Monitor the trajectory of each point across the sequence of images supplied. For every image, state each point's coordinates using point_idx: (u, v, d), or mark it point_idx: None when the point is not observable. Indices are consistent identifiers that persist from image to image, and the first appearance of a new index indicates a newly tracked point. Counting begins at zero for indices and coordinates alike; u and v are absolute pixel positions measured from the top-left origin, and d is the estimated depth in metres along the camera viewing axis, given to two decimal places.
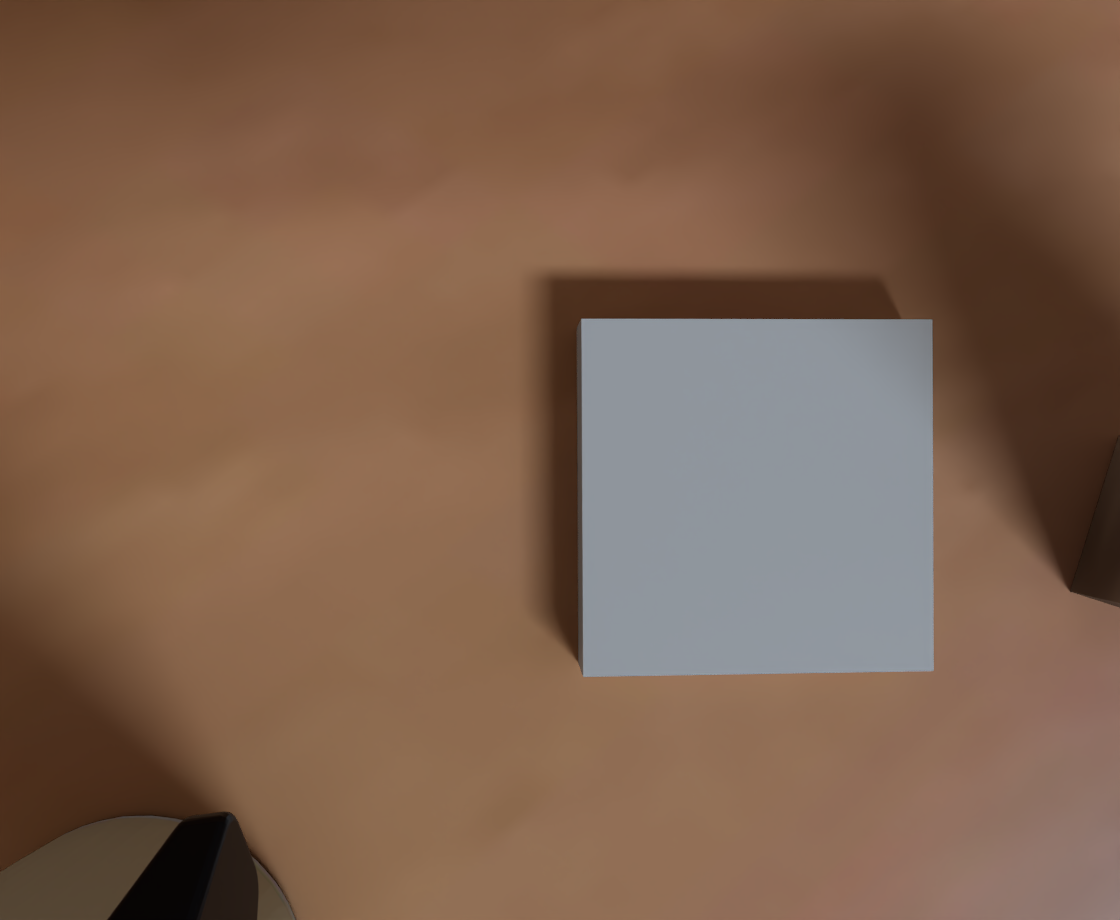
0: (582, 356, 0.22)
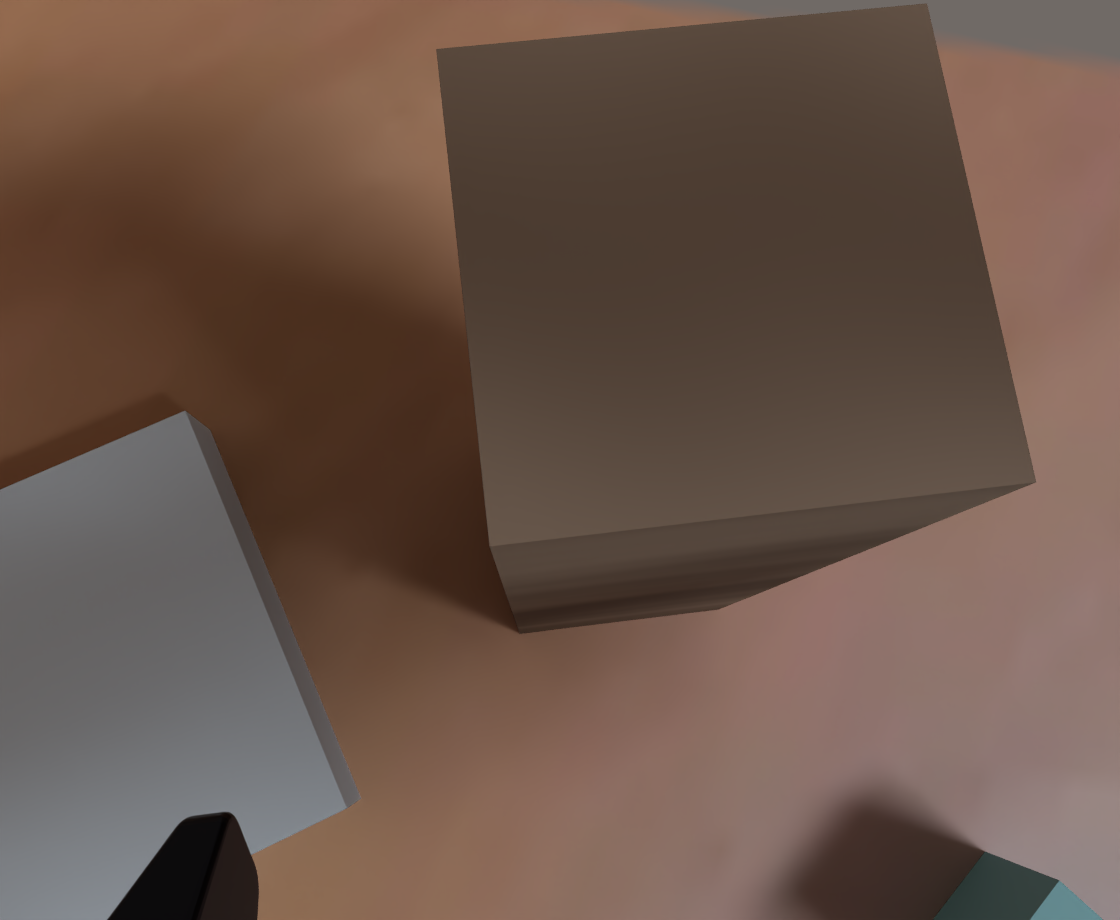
0: None
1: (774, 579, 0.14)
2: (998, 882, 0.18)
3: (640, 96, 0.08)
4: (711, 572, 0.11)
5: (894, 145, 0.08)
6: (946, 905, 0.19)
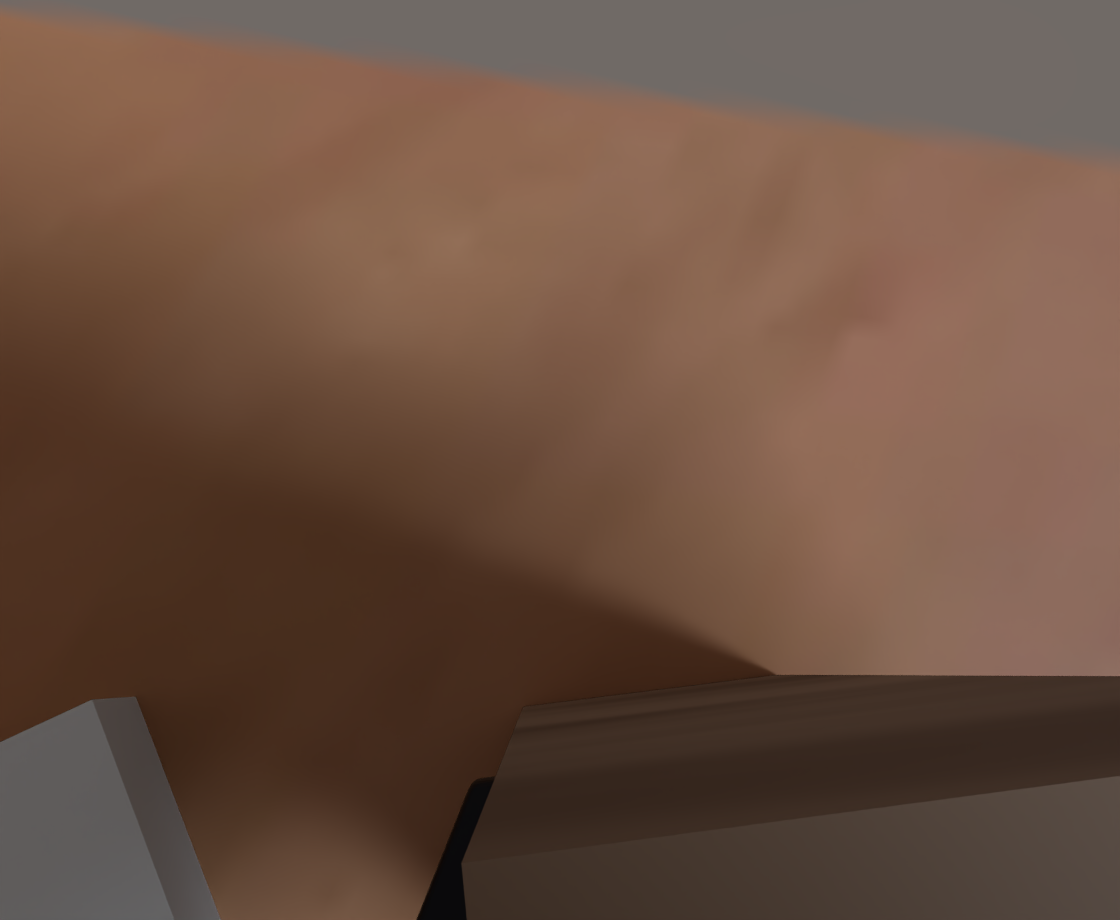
0: None
1: None
2: None
3: None
4: None
5: None
6: None
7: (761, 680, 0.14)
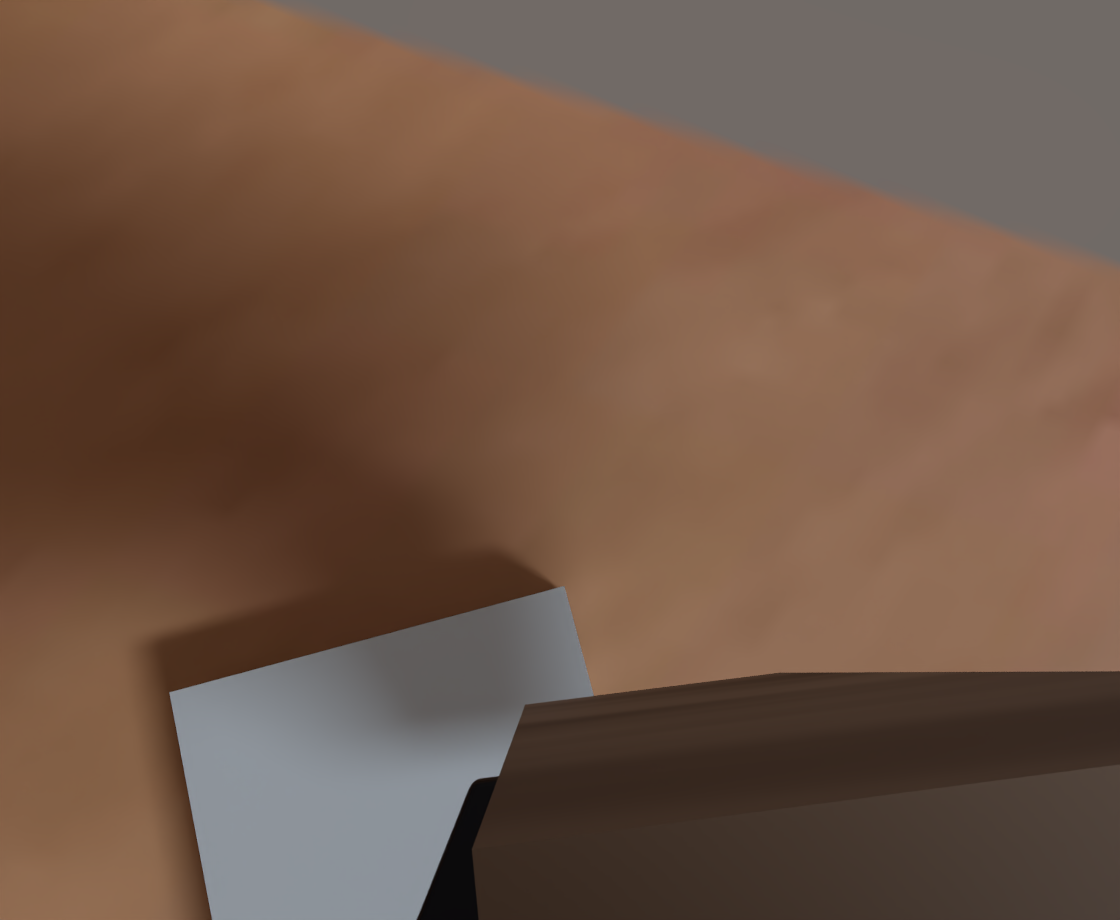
0: (178, 735, 0.19)
1: None
2: None
3: None
4: None
5: None
6: None
7: (763, 678, 0.14)
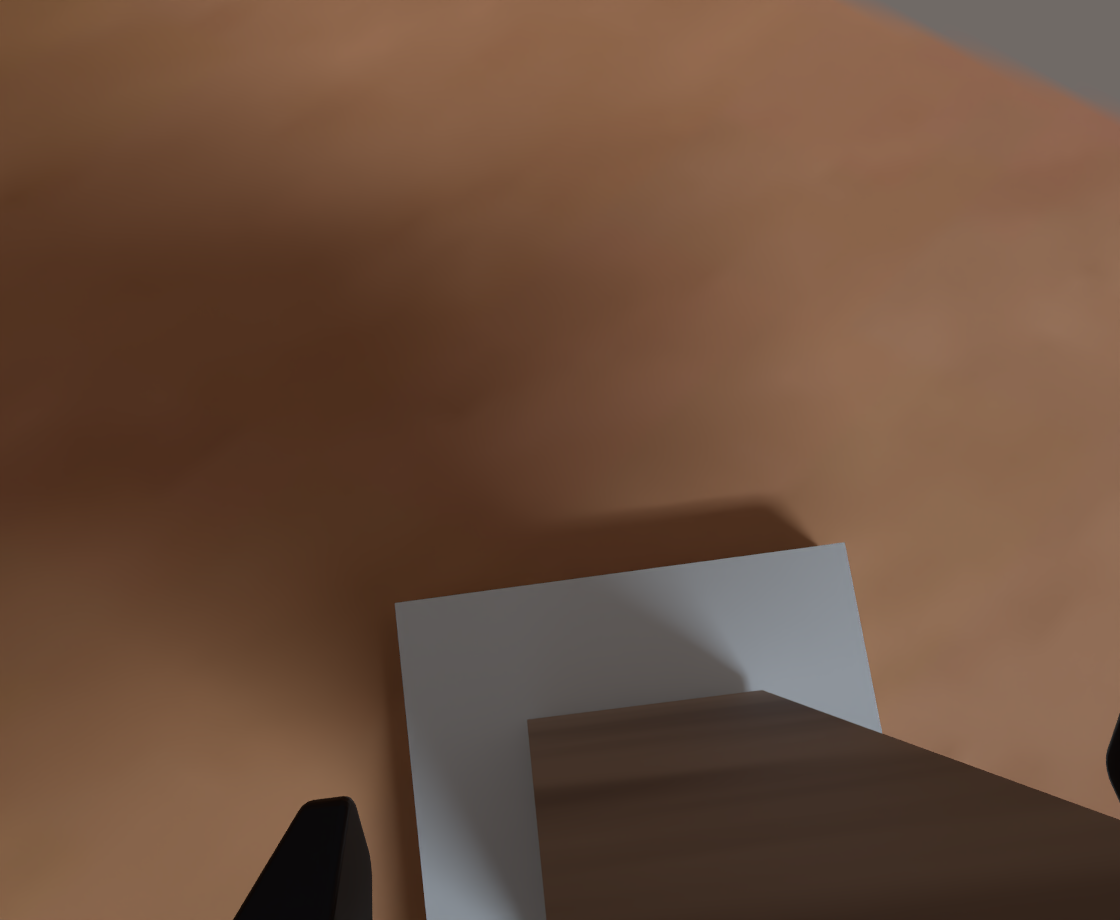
0: (401, 651, 0.17)
1: None
2: None
3: None
4: None
5: None
6: None
7: (748, 704, 0.15)
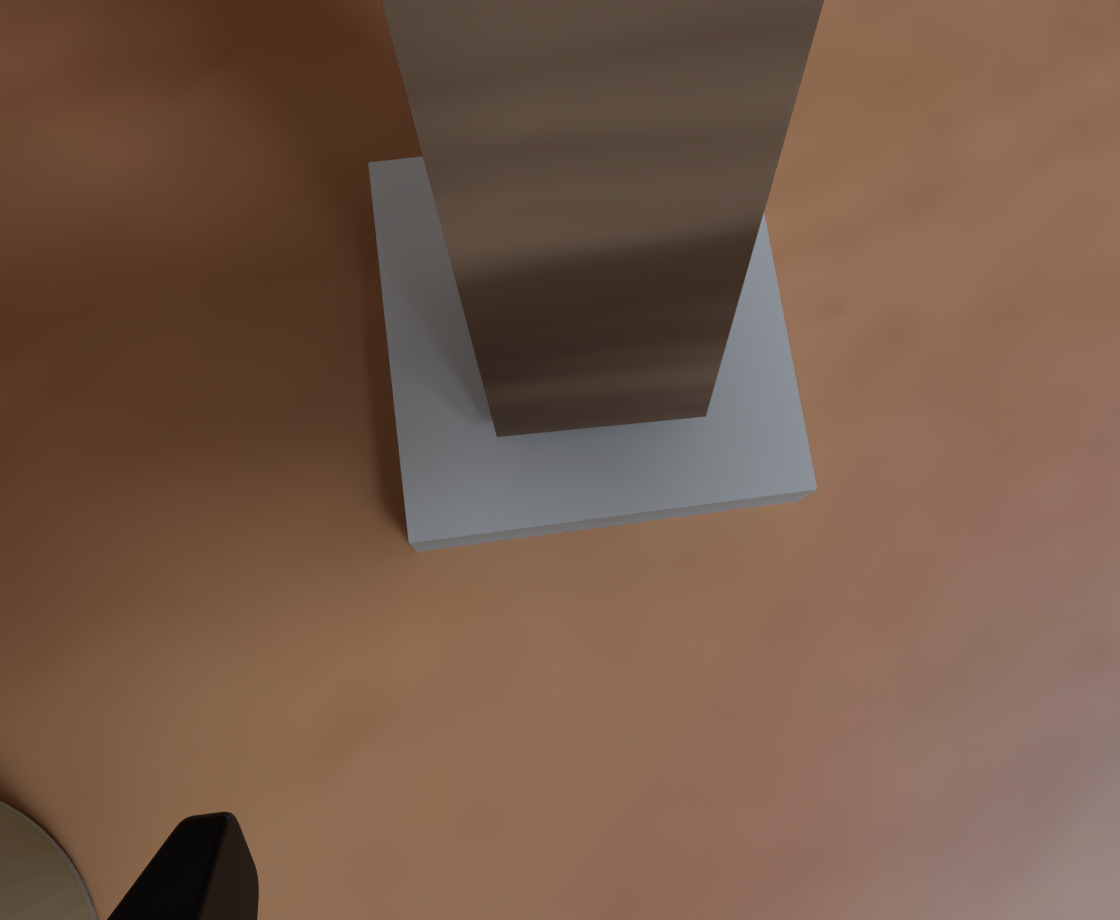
0: (373, 200, 0.21)
1: (728, 237, 0.13)
2: None
3: None
4: (637, 134, 0.11)
5: None
6: None
7: None
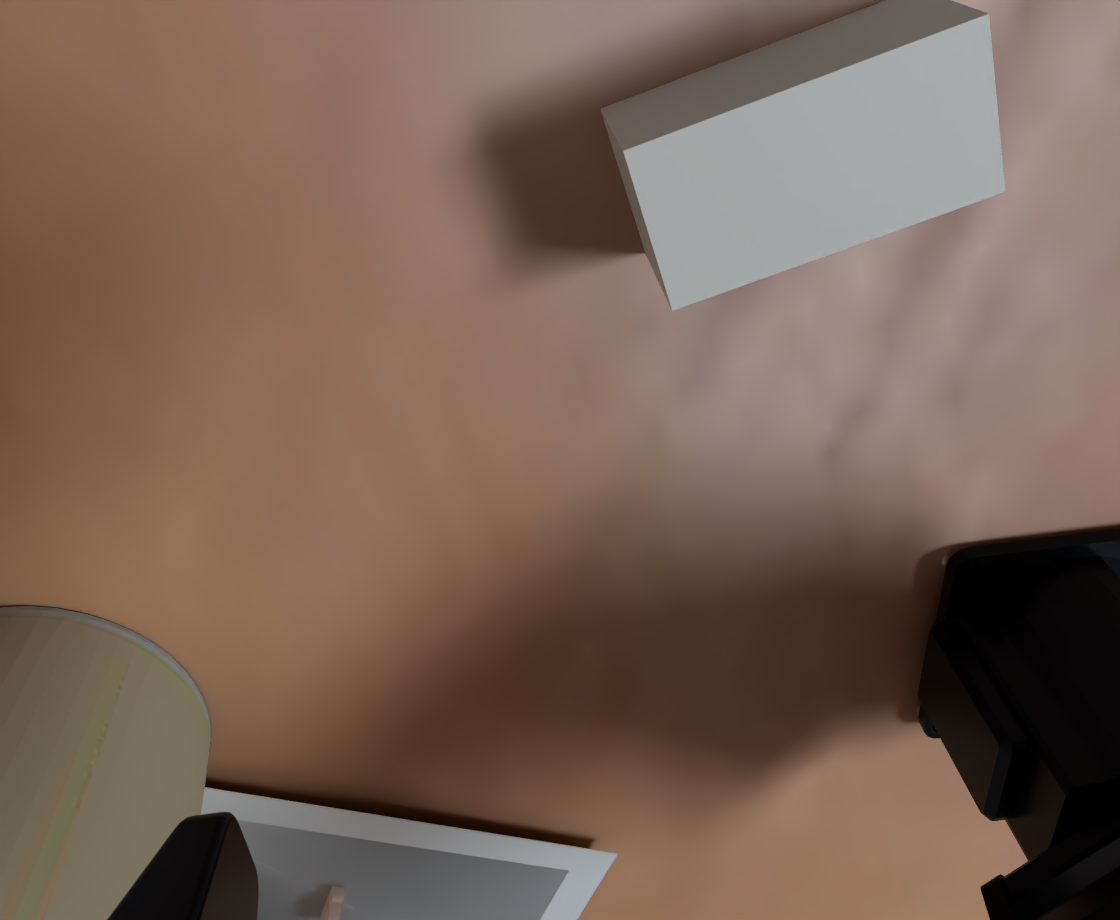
0: None
1: None
2: None
3: None
4: None
5: None
6: None
7: None
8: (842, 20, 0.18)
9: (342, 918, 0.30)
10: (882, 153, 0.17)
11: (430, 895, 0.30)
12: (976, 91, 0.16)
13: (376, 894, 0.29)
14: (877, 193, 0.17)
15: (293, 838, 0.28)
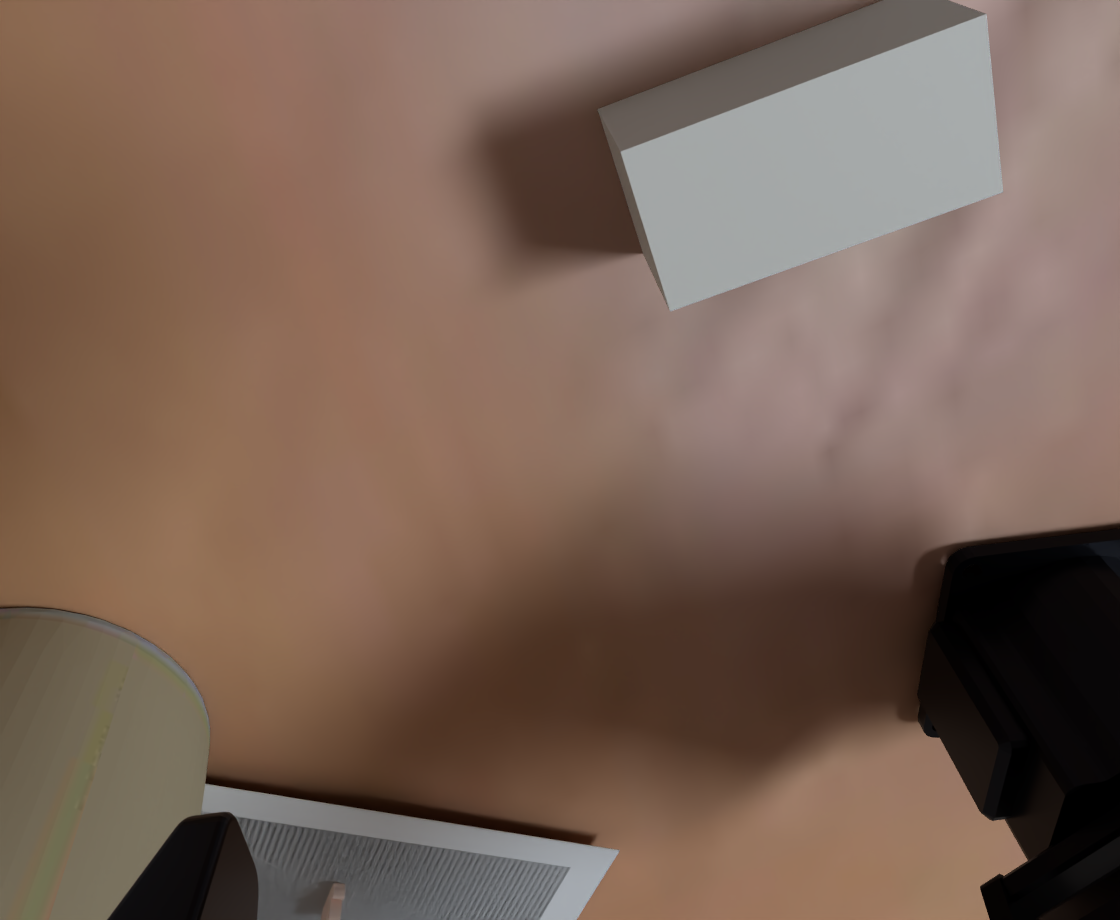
0: None
1: None
2: None
3: None
4: None
5: None
6: None
7: None
8: (840, 20, 0.18)
9: (343, 915, 0.30)
10: (880, 153, 0.17)
11: (431, 892, 0.30)
12: (974, 91, 0.16)
13: (377, 890, 0.29)
14: (875, 193, 0.17)
15: (294, 835, 0.28)
